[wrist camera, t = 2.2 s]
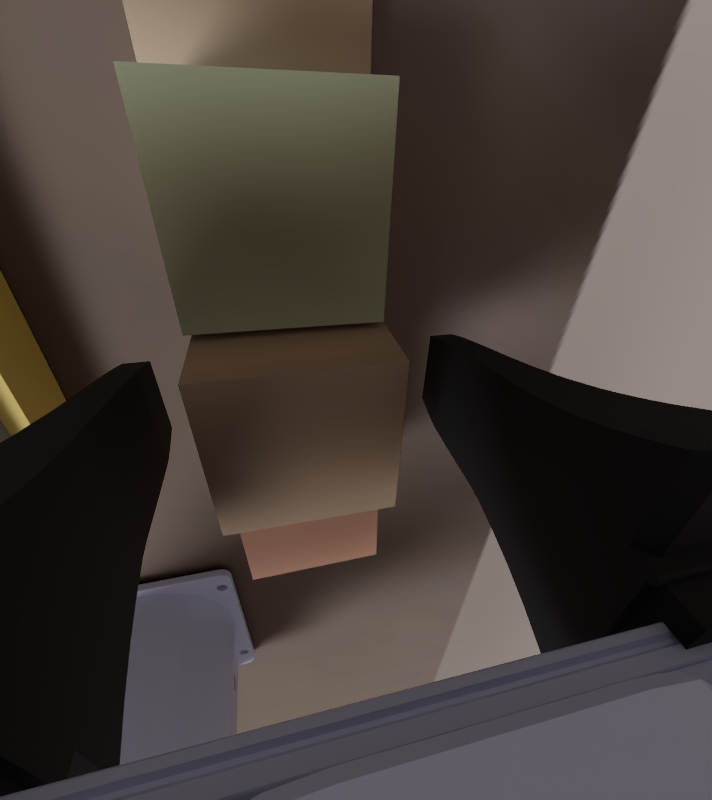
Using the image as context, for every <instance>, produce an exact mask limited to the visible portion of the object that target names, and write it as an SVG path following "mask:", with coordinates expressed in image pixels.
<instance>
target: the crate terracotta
mask: <svg viewBox="0 0 712 800" xmlns="http://www.w3.org/2000/svg"><path fill="white" fill-rule="evenodd" d="M377 522H378V509H377V510H372V511H366V512H360V513H354V514H348V515H343V516H337V517H331V518H325V519H319V520H314V521H308V522H302V523H296V524H290V525H285V526H279V527H273V528H267V529H261V530H256V531H250V532H244V533H240V535H241V539H242V542H243V546H244V549H245V553H246V557H247V560H248V564H249V567H250V571H251V574H252V578H253V580H255V579H260V578H265V577H270V576H275V575H279V574H284V573H289V572H294V571H299V570H303V569H308V568H313V567H318V566H323V565H327V564H332V563H337V562H342V561H347V560H351V559H356V558H361V557H366V556H371V555H376V547H377Z"/></svg>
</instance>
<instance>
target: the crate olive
mask: <svg viewBox="0 0 712 800" xmlns="http://www.w3.org/2000/svg"><path fill="white" fill-rule="evenodd" d="M113 63H114V67H115V71H116V75H117V78H118V82H119V86H120V90H121V94H122V98H123V102H124V106H125V110H126V114H127V118H128V122H129V126H130V130H131V134H132V137H133V141H134V145H135V149H136V153H137V157H138V161H139V165H140V169H141V173H142V177H143V181H144V185H145V189H146V193H147V197H148V200H149V204H150V208H151V212H152V216H153V220H154V224H155V228H156V232H157V236H158V240H159V244H160V248H161V252H162V256H163V259H164V263H165V267H166V271H167V275H168V279H169V283H170V287H171V291H172V295H173V299H174V303H175V307H176V311H177V315H178V318H179V322H180V326H181V330H182V334H183V336H184V335H198V334H213V333H227V332H242V331H256V330H271V329H285V328H300V327H314V326H329V325H343V324H358V323H372V322H384V312H385V297H386V281H387V266H388V250H389V234H390V219H391V203H392V188H393V172H394V157H395V141H396V126H397V110H398V95H399V79H400V76H393V75H374V74H354V73H335V72H315V71H296V70H276V69H257V68H237V67H217V66H198V65H178V64H159V63H139V62H120V61H113Z"/></svg>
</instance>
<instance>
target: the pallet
mask: <svg viewBox="0 0 712 800" xmlns="http://www.w3.org/2000/svg"><path fill="white" fill-rule="evenodd" d="M122 1H123V5H124V10H125V14H126V18H127V22H128V27H129V31H130V35H131V39H132V44H133V48H134V52H135V56H136V61H137V62H139V63H159V64H178V65H198V66H217V67H237V68H257V69H276V70H296V71H315V72H335V73H354V74H371V44H372V5H373V0H122ZM409 368H410V360H409V359H408V357H407V356H406V355H405V353H404V352H403V350H402V349H401V347H400V346H399V344H398V343H397V341H396V340H395V338H394V337H393V335H392V334H391V332H390V331H389V329H388V328H387V326H386V325H385V324H384V322H372V323H358V324H343V325H329V326H314V327H300V328H285V329H271V330H256V331H242V332H227V333H213V334H198V335H192V337H191V340H190V344H189V348H188V351H187V355H186V359H185V362H184V366H183V369H182V373H181V377H180V380H179V384H178V386H179V390H180V393H181V396H182V400H183V403H184V407H185V410H186V413H187V417H188V420H189V423H190V427H191V430H192V433H193V437H194V440H195V444H196V447H197V450H198V454H199V457H200V460H201V464H202V467H203V470H204V474H205V477H206V481H207V484H208V487H209V491H210V494H211V497H212V501H213V504H214V507H215V511H216V514H217V518H218V521H219V524H220V528H221V531H222V534H223V536H227V535H232V534H238V533H244V532H250V531H256V530H261V529H267V528H273V527H279V526H285V525H290V524H296V523H302V522H308V521H314V520H319V519H325V518H331V517H337V516H343V515H348V514H354V513H360V512H366V511H372V510H377V509H383V508H389V507H395V502H396V493H397V483H398V473H399V464H400V454H401V445H402V435H403V426H404V416H405V406H406V397H407V387H408V378H409Z"/></svg>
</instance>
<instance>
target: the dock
mask: <svg viewBox="0 0 712 800" xmlns="http://www.w3.org/2000/svg"><path fill="white" fill-rule="evenodd" d="M65 401H66V399H65V397H64V395H63V393H62V391H61V389H60V387H59V385H58V383H57V381H56V379H55V377H54V375H53V373H52V371H51V369H50V367H49V365H48V364H47V362H46V360H45V358H44V356H43V354H42V352H41V350H40V348H39V346H38V344H37V342H36V340H35V338H34V336H33V334H32V332H31V330H30V328H29V326H28V324H27V322H26V320H25V318H24V316H23V314H22V312H21V310H20V308H19V306H18V304H17V302H16V300H15V298H14V296H13V294H12V292H11V290H10V288H9V286H8V284H7V282H6V280H5V278H4V276H3V274H2V272H1V270H0V443H1V442H2V441H4V440H6V439H8V438H9V437H11V436H13V435H14V434H16V433H18V432H19V431H21V430H22V429H24V428H25V427H27V426H28V425H30V424H32V423H33V422H35V421H36V420H38V419H39V418H41V417H43V416H44V415H46V414H47V413H49V412H50V411H52V410H54V409H55V408H57V407H58V406H60V405H61V404H63V403H64V402H65Z"/></svg>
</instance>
